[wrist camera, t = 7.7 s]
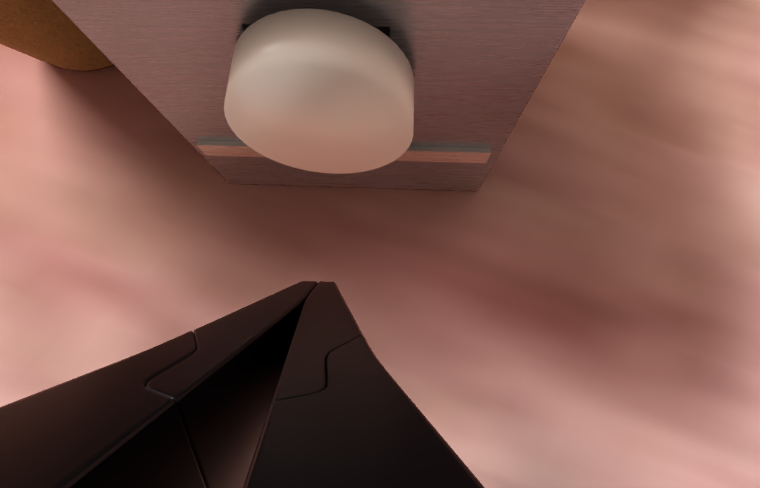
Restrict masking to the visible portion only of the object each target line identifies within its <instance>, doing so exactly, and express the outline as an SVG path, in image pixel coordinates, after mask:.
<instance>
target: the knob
mask: <svg viewBox="0 0 760 488" xmlns="http://www.w3.org/2000/svg"><path fill="white" fill-rule="evenodd" d="M224 113H225V117H226V120H227V123H228V124H229V126H230V128H231V129H232V131H233V132H234V133H235V134H236V136H237V137H238V138H239V139H240V140H242V141H243V142H244V143H245V144H246V145H248V146H249V147H250V148H252V149H253V150H255V151H256V152H258V153H260V154H262V155H263V156H265V157H267V158H269V159H272V160H274V161H276V162H279V163H282V164H284V165H287V166H291V167H294V168H298V169H302V170H307V171H313V172H320V173H333V174H346V173H357V172H364V171H369V170H373V169H376V168H380V167H382V166H385V165H387V164H389V163H391V162H393V161H395V160H396V159H398V158H399V157H400V156H401V155H402V154H403V153H405V151H406V150H407V149H408V147H409V146H410V144H411V142H412V138H413V125H414V75H413V71H412V68H411V65H410V63H409V61H408V59H407V58H406V56H405V54H404V53H403V52H402V50H401V49H400V48H399V47H398V45H397V44H396V43H395V42H393V41H392V40H391V39H390V38H389V37H388V36H387V35H385V34H384V33H383V32H381V31H380V30H378V29H377V28H375V27H373V26H371V25H370V24H368V23H366V22H364V21H361V20H359V19H357V18H354V17H352V16H349V15H345V14H342V13H338V12H333V11H328V10H322V9H291V10H285V11H280V12H277V13H273V14H270V15H267V16H265V17H263V18H261V19H259V20H257V21H256V22H254V23H253V24H252V25H250V26H249V27H248V28H247V29H246V30H245V31H244V32H243V33H242V34H241V36H240V37H239V39H238V41H237V42H236V45H235V48H234V52H233V57H232V63H231V68H230V74H229V79H228V85H227V90H226V96H225V102H224Z"/></svg>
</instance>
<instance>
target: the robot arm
mask: <svg viewBox="0 0 760 488" xmlns="http://www.w3.org/2000/svg"><path fill="white" fill-rule="evenodd" d="M0 488H484V486H483V485H482V484H481V483H480V482H479V480H478V479H477V478H476V477H475V476H474V474H473V473H472V472H471V471H470V470H469V468H468V467H467V466H466V465H465V464H464V463H463V461H462V460H461V459H460V458H459V457H458V455H457V454H456V453H455V452H454V451H453V449H452V448H451V447H450V446H449V445H448V443H447V442H446V441H445V440H444V439H443V437H442V436H441V435H440V434H439V433H438V432H437V430H436V429H435V428H434V427H433V426H432V424H431V423H430V422H429V421H428V420H427V418H426V417H425V416H424V415H423V414H422V412H421V411H420V410H419V409H418V408H417V407H416V405H415V404H414V403H413V402H412V401H411V399H410V398H409V397H408V396H407V395H406V393H405V392H404V391H403V390H402V389H401V387H400V386H399V385H398V384H397V383H396V381H395V380H394V379H393V378H392V377H391V376H390V374H389V373H388V372H387V371H386V369H385V368H384V367H383V366H382V364H381V363H380V362H379V360H378V359H377V358H376V356H375V355H374V353H373V351H372V350H371V348H370V346H369V345H368V343H367V341H366V339H365V337H364V336H363V334H362V332H361V331H360V329H359V327H358V325H357V323H356V321H355V319H354V317H353V316H352V314H351V312H350V310H349V308H348V306H347V304H346V302H345V301H344V299H343V297H342V295H341V293H340V291H339V289H338V287H337V285H336V284H335V283H334V282H319V283H317V282H316V281H302V282H299V283H297V284H295V285H293V286H291V287H288V288H286V289H284V290H282V291H280V292H277V293H275V294H273V295H271V296H268V297H266V298H264V299H262V300H260V301H257V302H255V303H253V304H251V305H249V306H246V307H244V308H242V309H240V310H238V311H235V312H233V313H231V314H229V315H227V316H224V317H222V318H220V319H218V320H215V321H213V322H211V323H209V324H207V325H204V326H202V327H200V328H198V329H196V330H194V332H192V331H190V332H187V333H185V334H183V335H181V336H179V337H176V338H174V339H172V340H169V341H167V342H165V343H163V344H160V345H158V346H156V347H153V348H151V349H149V350H146V351H144V352H141V353H139V354H136V355H134V356H131V357H129V358H126V359H124V360H121V361H119V362H116V363H113V364H111V365H108V366H106V367H103V368H100V369H98V370H95V371H93V372H90V373H88V374H85V375H82V376H80V377H77V378H75V379H72V380H70V381H67V382H64V383H62V384H59V385H57V386H54V387H51V388H49V389H46V390H44V391H41V392H39V393H36V394H33V395H31V396H28V397H26V398H23V399H20V400H18V401H15V402H13V403H10V404H8V405H5V406H2V407H0Z"/></svg>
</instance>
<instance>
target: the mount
mask: <svg viewBox="0 0 760 488" xmlns="http://www.w3.org/2000/svg"><path fill="white" fill-rule="evenodd" d="M52 1H53V2H54V3H55V4H56V5H57V6H58V7H59V8H60V9H61V10H62V11H63V12H64V13H65V14H66V15H67V16H68V17H69V18H70V19H71V20H72V22H73V23H74V24H75V25H76V26H77V27H78V28H79V29H80V30H81V31H82V32H83V33H84V34H85V35H86V36H87V37H88V38H89V39H90V40H91V41H92V42H93V43H94V44H95V45H96V46H97V47H98V48H99V49H100V51H101V52H102V53H103V54H104V55H105V56H106V57H107V58H108V59H109V60H110V61H111V62H112V63H113V64H114V65H115V66H116V67H117V68H118V69H119V70H120V71H121V72H122V73H123V74H124V75H125V76H126V77H127V78H128V80H129V81H130V82H131V83H132V84H133V85H134V86H135V87H136V88H137V89H138V90H139V91H140V92H141V93H142V94H143V95H144V96H145V97H146V98H147V99H148V100H149V101H150V102H151V103H152V104H153V105H154V106H155V107H156V109H157V110H158V111H159V112H160V113H161V114H162V115H163V116H164V117H165V118H166V119H167V120H168V121H169V122H170V123H171V124H172V125H173V126H174V127H175V128H176V129H177V130H178V131H179V132H180V133H181V134H182V135H183V136H184V138H185V139H186V140H187V141H188V142H189V143H190V144H191V145H192V146H193V147H194V148H195V149H196V150H197V151H198V152H199V153H200V154H201V155H202V156H203V157H204V158H205V159H206V160H207V161H208V162H209V163H210V164H211V165H212V166H213V168H214V169H215V170H216V171H217V172H218V173H219V174H220V175H221V176H222V177H223V178H224V179H225V180H226V181H227V182H228V183H230V184H263V185H296V186H328V187H361V188H394V189H426V190H459V191H478V190H479V188H480V186H481V184H482V182H483V181H484V179H485V177H486V175H487V174H488V172H489V170H490V168H491V167H492V165H493V163H494V161H495V159H496V158H497V156H498V154H499V152H500V151H501V149H502V147H503V145H504V144H505V142H506V140H507V138H508V136H509V135H510V133H511V131H512V129H513V128H514V126H515V124H516V122H517V121H518V119H519V117H520V115H521V113H522V112H523V110H524V108H525V106H526V105H527V103H528V101H529V99H530V98H531V96H532V94H533V92H534V90H535V89H536V87H537V85H538V83H539V82H540V80H541V78H542V76H543V75H544V73H545V71H546V69H547V67H548V66H549V64H550V62H551V60H552V59H553V57H554V55H555V53H556V51H557V50H558V48H559V46H560V44H561V43H562V41H563V39H564V37H565V36H566V34H567V32H568V30H569V28H570V27H571V25H572V23H573V21H574V20H575V18H576V16H577V14H578V13H579V11H580V9H581V7H582V5H583V4H584V2H585V0H52ZM291 9H322V10H328V11H333V12H338V13H342V14H345V15H349V16H352V17H354V18H357V19H359V20H361V21H364V22H366V23H368V24H370V25H371V26H373V27H375V28H377V29H378V30H380V31H381V32H383V33H384V34H385V35H387V36H388V37H389V38H390V39H391V40H392V41H393V42H395V43H396V44H397V45H398V47H399V48H400V49H401V50H402V52H403V53H404V54H405V56H406V58H407V59H408V61H409V63H410V65H411V68H412V71H413V75H414V125H413V138H412V142H411V144H410V146H409V147H408V149H407V150H406V151H405V153H403V154H402V155H401V156H400V157H399V158H398V159H396V160H395V161H393V162H391V163H389V164H387V165H385V166H382V167H380V168H376V169H373V170H369V171H364V172H357V173H346V174H333V173H320V172H313V171H307V170H302V169H298V168H294V167H291V166H287V165H284V164H282V163H279V162H276V161H274V160H272V159H269V158H267V157H265V156H263V155H262V154H260V153H258V152H256V151H255V150H253V149H252V148H250V147H249V146H248V145H246V144H245V143H244V142H243V141H242V140H240V139H239V138H238V137H237V136H236V134H235V133H234V132H233V131H232V129H231V128H230V126H229V124H228V123H227V120H226V117H225V113H224V102H225V96H226V90H227V85H228V79H229V74H230V68H231V63H232V57H233V52H234V48H235V45H236V42H237V41H238V39H239V37H240V36H241V34H242V33H243V32H244V31H245V30H246V29H247V28H248V27H249V26H250V25H252V24H253V23H254V22H256V21H257V20H259V19H261V18H263V17H265V16H267V15H270V14H273V13H277V12H280V11H285V10H291Z"/></svg>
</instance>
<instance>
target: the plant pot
mask: <svg viewBox="0 0 760 488" xmlns="http://www.w3.org/2000/svg"><path fill="white" fill-rule="evenodd" d="M0 44H2V45H5V46H7V47H10V48H12V49H15V50H17V51H19V52H22V53H24V54H27V55H29V56H32V57H34V58H36V59H39V60H42V61H44V62H47V63H50V64H52V65H55V66H58V67H60V68H64V69H68V70H79V71H85V70H95V69H100V68H104V67H108V66H110V65H113V63H112V62H111V61H110V60H109V59H108V58H107V57H106V56H105V55H104V54H103V53H102V52H101V51H100V49H99V48H98V47H97V46H96V45H95V44H94V43H93V42H92V41H91V40H90V39H89V38H88V37H87V36H86V35H85V34H84V33H83V32H82V31H81V30H80V29H79V28H78V27H77V26H76V25H75V24H74V23H73V22H72V20H71V19H70V18H69V17H68V16H67V15H66V14H65V13H64V12H63V11H62V10H61V9H60V8H59V7H58V6H57V5H56V4H55V3H54V2H53V1H52V0H0Z"/></svg>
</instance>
